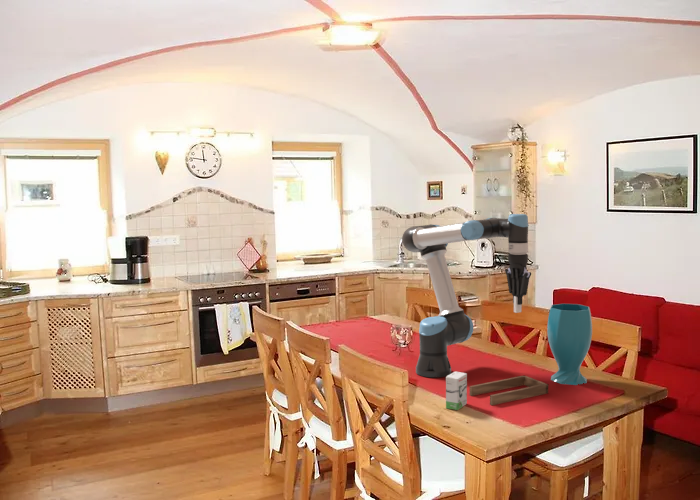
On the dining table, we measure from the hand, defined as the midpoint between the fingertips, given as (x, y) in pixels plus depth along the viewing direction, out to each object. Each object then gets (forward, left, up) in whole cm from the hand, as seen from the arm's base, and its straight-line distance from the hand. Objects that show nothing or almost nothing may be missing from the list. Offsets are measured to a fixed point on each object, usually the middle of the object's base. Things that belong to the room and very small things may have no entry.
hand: (517, 312), depth 263 cm
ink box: (+9, -36, -30) cm, 47 cm away
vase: (+6, +22, -30) cm, 37 cm away
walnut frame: (+8, -11, -29) cm, 32 cm away
